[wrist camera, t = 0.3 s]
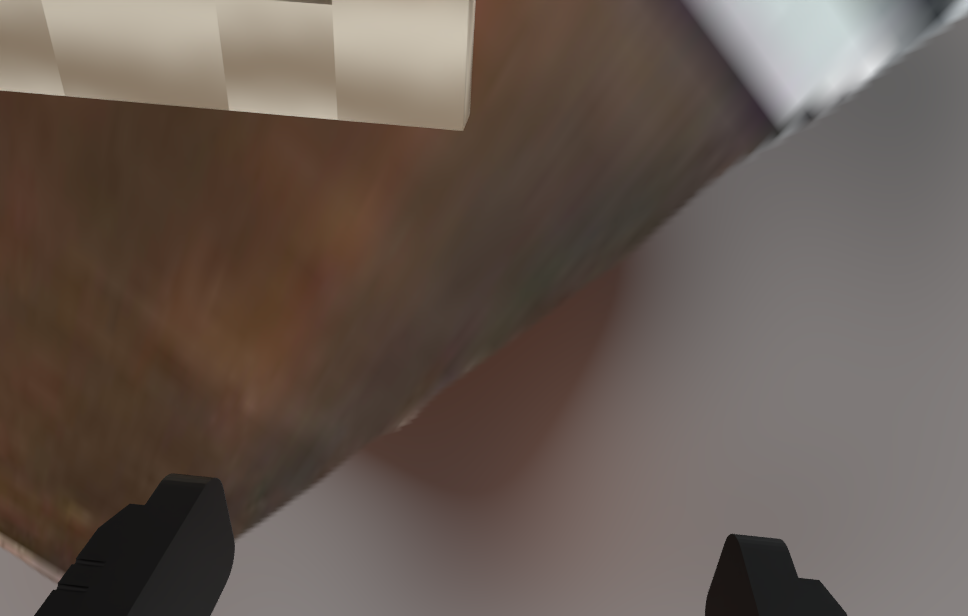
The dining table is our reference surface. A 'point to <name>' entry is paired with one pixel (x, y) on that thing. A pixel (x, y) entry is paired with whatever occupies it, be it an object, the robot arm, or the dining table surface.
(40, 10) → the socket block
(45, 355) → the dining table surface
